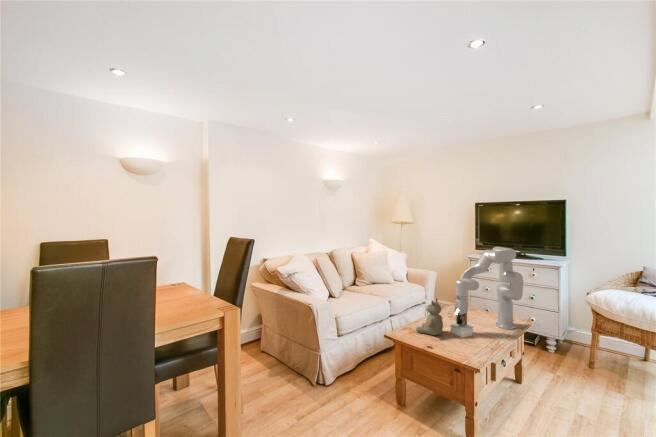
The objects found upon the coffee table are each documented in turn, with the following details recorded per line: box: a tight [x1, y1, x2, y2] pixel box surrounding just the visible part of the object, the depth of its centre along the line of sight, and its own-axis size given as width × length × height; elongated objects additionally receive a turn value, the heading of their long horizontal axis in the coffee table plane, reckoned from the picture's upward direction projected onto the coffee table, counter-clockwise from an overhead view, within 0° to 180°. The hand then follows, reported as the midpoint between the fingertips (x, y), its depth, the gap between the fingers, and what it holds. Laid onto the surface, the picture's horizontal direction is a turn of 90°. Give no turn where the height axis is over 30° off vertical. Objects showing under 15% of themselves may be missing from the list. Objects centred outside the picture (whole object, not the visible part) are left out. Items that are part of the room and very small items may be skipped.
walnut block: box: [455, 313, 468, 326], centre depth 211 cm, size 5×5×7 cm
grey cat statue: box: [415, 297, 444, 336], centre depth 214 cm, size 21×16×25 cm
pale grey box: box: [449, 322, 474, 339], centre depth 211 cm, size 11×11×6 cm
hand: (461, 322), depth 211 cm, fingers closed on walnut block, 5 cm apart
